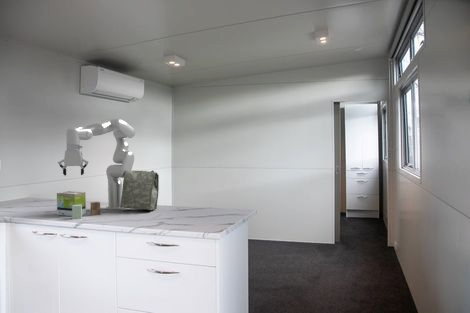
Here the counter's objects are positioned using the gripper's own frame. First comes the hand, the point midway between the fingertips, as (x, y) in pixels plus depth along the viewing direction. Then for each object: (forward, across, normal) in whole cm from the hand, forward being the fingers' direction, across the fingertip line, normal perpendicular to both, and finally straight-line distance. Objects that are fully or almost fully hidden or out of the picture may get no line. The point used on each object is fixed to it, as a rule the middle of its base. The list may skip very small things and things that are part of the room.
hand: (73, 175), depth 212 cm
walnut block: (+27, -12, -7) cm, 30 cm away
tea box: (+27, +4, -12) cm, 30 cm away
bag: (+26, -38, -13) cm, 48 cm away
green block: (+27, -2, +1) cm, 27 cm away
